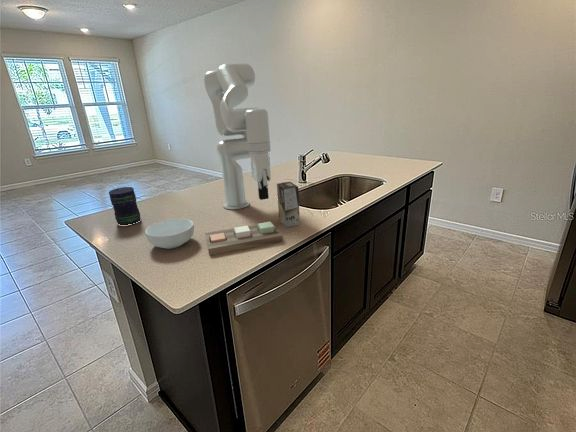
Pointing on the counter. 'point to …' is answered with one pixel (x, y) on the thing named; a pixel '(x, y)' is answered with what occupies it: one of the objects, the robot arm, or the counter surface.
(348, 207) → the counter surface
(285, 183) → the coffee box
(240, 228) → the cream tile
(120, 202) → the storage jar
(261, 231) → the sage tile
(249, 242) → the tile frame
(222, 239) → the terracotta tile
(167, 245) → the cereal bowl
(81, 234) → the counter surface
